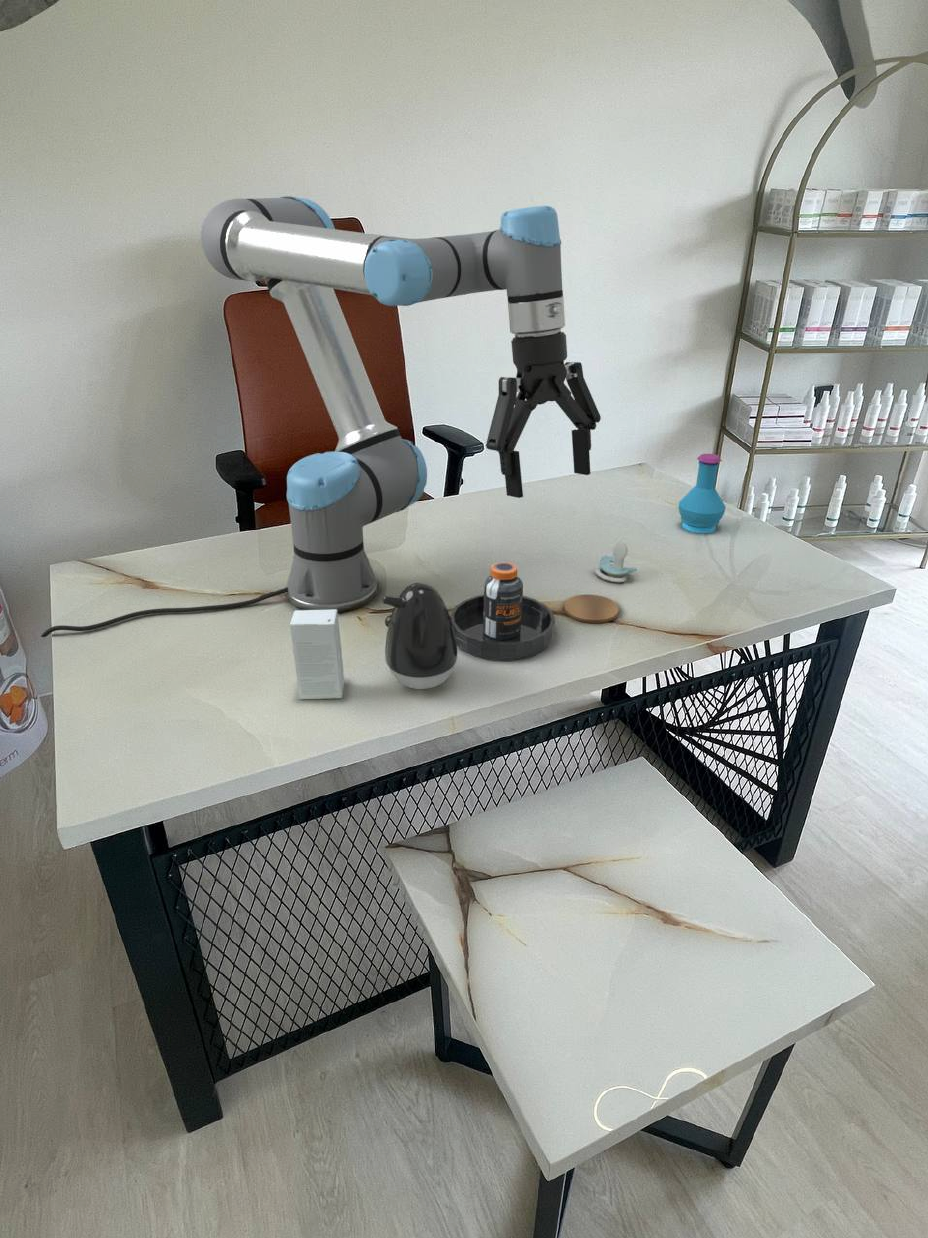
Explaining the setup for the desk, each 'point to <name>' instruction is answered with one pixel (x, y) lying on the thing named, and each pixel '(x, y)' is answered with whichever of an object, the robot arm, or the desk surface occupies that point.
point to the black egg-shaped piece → (420, 638)
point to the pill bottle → (503, 602)
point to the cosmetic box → (317, 653)
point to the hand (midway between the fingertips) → (549, 484)
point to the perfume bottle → (703, 499)
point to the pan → (526, 644)
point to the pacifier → (615, 564)
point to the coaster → (591, 608)
